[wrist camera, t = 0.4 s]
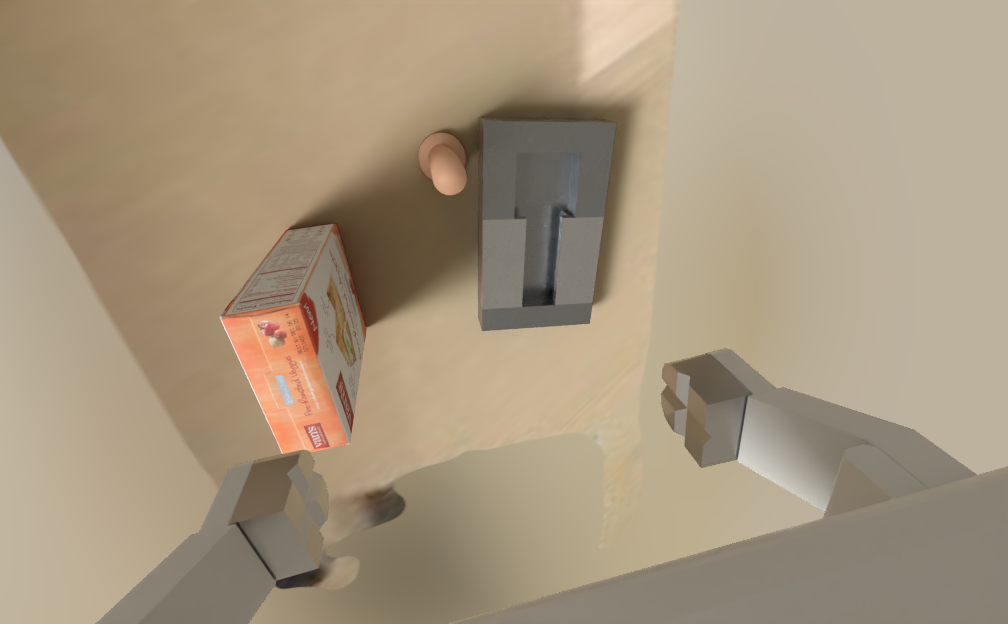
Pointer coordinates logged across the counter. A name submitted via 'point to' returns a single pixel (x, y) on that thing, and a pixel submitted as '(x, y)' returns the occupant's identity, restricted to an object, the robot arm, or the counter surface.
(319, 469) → the counter surface
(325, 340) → the cracker box
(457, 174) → the peg
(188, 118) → the counter surface
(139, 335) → the counter surface
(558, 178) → the keyhole board
